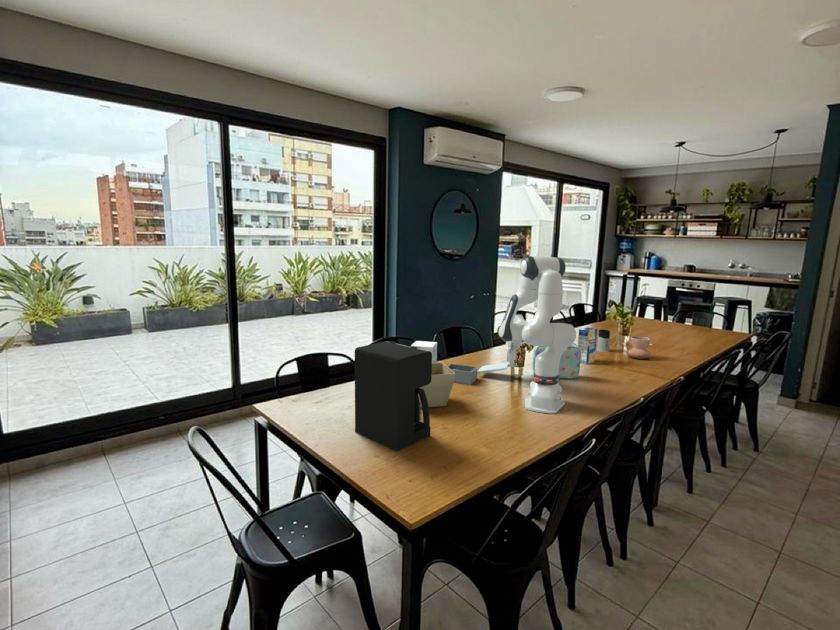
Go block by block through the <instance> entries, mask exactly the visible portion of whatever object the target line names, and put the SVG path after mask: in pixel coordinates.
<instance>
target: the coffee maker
mask: <svg viewBox="0 0 840 630" xmlns="http://www.w3.org/2000/svg"><path fill="white" fill-rule="evenodd" d="M353 352H354V433H355V434H358V435H360V436H363V437H364V438H367V439H369V440H371V441H374V442H376V443H378V444H380V445H383V446H385V447H387V448H390V449H392V450H394V451H396V452H399V451H402V450H404V449H406V448H408V447H410V446H412V445H414V444H416V443H418V442H421V441H423V440H425V439H427V438H428V437H430V436H431V422H430V421H431V419H430V416H431V415H430V409H429V408H430V407H428V401H427V398H426V394H425V391H424V389H421V388H420V387H423V386H426V385H428V384H430V383H431V379H432V353H431V352H430V351H427V350H422V349H418V347H415V346H413V347H411V346H408V345H404V344H399V343H397V342H395V341H381V342H376V343H371V344H368V345H363V346H358V347H356V348H355V349H354V351H353ZM418 394H419V396H420V400H421V403H420V402H419V396H418ZM421 404H422V408H421ZM421 414H422V415H421ZM421 416H422V417H421ZM422 418H423V419H422ZM422 420H423V421H422Z"/></svg>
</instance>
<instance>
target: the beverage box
mask: <svg viewBox="0 0 840 630" xmlns="http://www.w3.org/2000/svg"><path fill="white" fill-rule="evenodd" d="M597 340H598V328H595V327H588V326H587V327H583V328H579V329H578V340H577V346H578V347H579V348H580V350H581V360H580V364H582V363H583V365H589V364H592V363H595V361H596V352H597V351H596V350H597Z"/></svg>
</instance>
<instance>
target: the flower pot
mask: <svg viewBox="0 0 840 630" xmlns="http://www.w3.org/2000/svg"><path fill="white" fill-rule="evenodd" d="M447 366H448V365H446V364H445V363H444V362H437V363H432V379H431V383H430V384H428V385H426V386H423V387H420V388H421V389H424V391H425V394H426V398H427V401H428V407H429V408H437V407H438V408H440V407H445V406H447V403H448V401H449V399H450V396H451V393H452V390H453V385H454V377H455V373H454V372H453V371H452V370H451V369H450V368H448V367H447ZM418 396H419V394H418ZM419 402H420V403H421V400H420V396H419ZM421 409H422V404H421Z"/></svg>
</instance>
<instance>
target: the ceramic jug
mask: <svg viewBox="0 0 840 630" xmlns="http://www.w3.org/2000/svg"><path fill="white" fill-rule="evenodd" d="M629 337H630V339H628V340H626V341H625V348H626V353H627V356H629V357H630V358H632V359H636V360H645V359H649V358H650V357H651V356H652V354H651V353H652V352H650V351H649V350H648V349H647V348H648V347H649V346H650V347H652V346H653V343H650V342H651V338H649V337H645V336H638V335H637V336H636V335H635V336H633V335H632V336H629ZM629 343H630V344H631V346H632V347H631V348H629V345H628V344H629Z"/></svg>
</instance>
